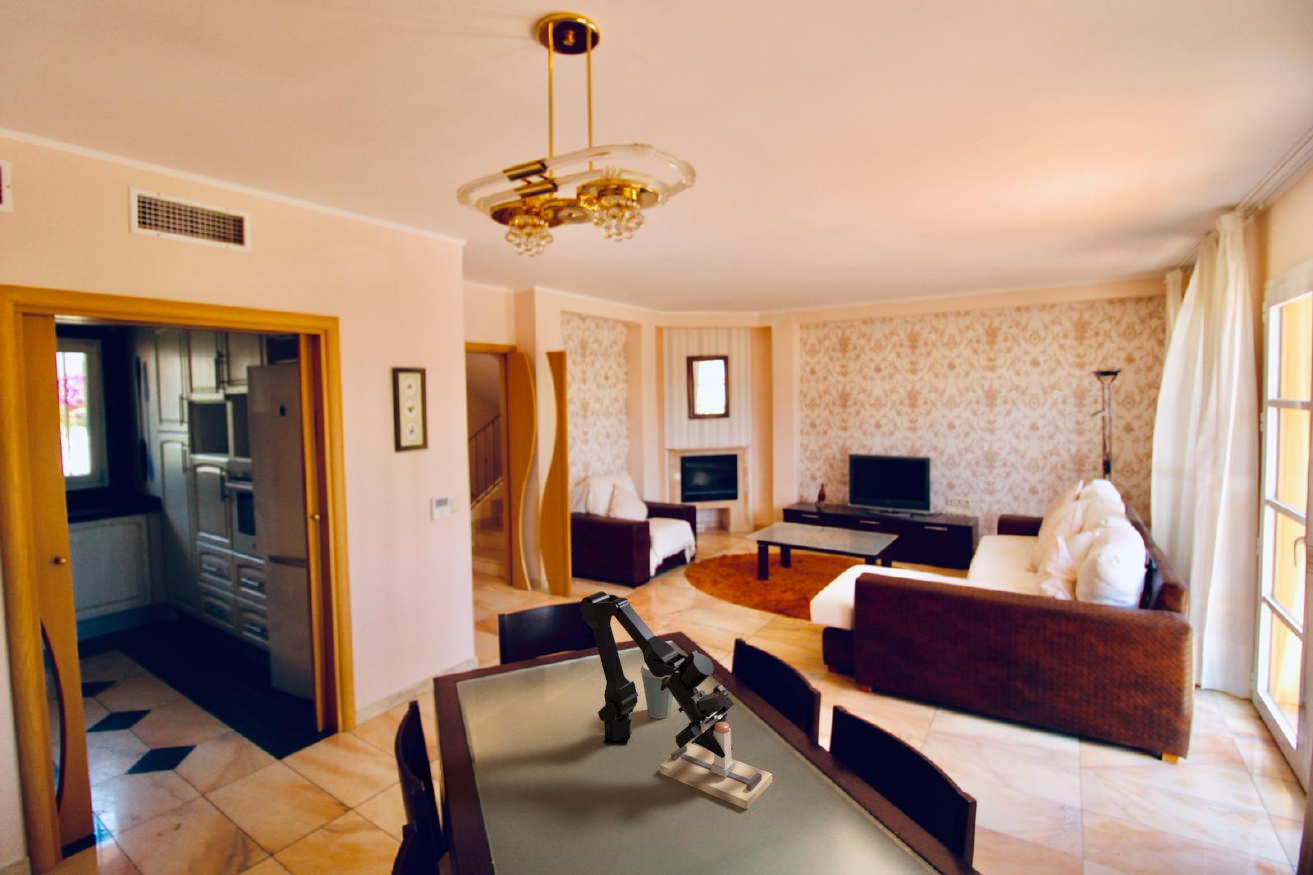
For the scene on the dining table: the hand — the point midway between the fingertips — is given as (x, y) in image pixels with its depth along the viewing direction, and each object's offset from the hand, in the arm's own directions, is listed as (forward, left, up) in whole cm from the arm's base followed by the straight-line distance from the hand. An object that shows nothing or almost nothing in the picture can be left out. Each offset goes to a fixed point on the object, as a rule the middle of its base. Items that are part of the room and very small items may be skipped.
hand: (727, 753), depth 146 cm
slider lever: (-1, +1, -4) cm, 5 cm away
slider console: (-3, +2, -7) cm, 8 cm away
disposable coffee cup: (-20, +31, -7) cm, 38 cm away
